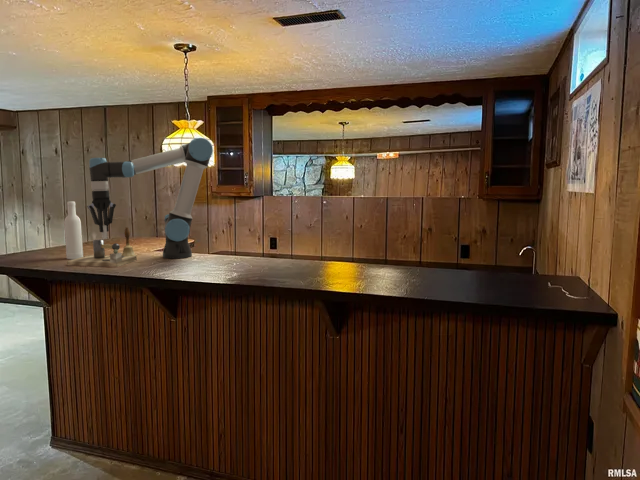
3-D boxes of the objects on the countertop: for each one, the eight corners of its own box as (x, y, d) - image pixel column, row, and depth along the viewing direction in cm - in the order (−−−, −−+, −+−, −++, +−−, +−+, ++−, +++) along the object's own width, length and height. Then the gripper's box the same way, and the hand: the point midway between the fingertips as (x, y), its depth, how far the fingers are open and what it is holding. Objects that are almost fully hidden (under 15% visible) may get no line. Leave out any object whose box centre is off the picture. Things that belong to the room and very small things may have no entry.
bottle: (67, 257, 242) (63, 201, 238) (83, 256, 245) (80, 201, 241) (65, 259, 235) (61, 202, 231) (83, 258, 238) (79, 201, 234)
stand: (136, 260, 235) (135, 244, 234) (117, 266, 217) (116, 250, 216) (89, 258, 238) (88, 243, 237) (67, 265, 220) (65, 249, 219)
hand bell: (116, 257, 243) (115, 227, 241) (127, 254, 251) (126, 226, 249) (129, 258, 241) (128, 228, 239) (140, 255, 249) (138, 226, 247)
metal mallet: (91, 258, 228) (90, 240, 227) (99, 256, 233) (98, 239, 231) (115, 259, 224) (114, 241, 222) (123, 258, 228) (122, 240, 227)
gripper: (110, 189, 226) (114, 236, 229) (83, 190, 216) (87, 239, 219) (117, 189, 221) (121, 237, 224) (89, 190, 211) (94, 240, 214)
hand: (104, 238), depth 222 cm, fingers closed
